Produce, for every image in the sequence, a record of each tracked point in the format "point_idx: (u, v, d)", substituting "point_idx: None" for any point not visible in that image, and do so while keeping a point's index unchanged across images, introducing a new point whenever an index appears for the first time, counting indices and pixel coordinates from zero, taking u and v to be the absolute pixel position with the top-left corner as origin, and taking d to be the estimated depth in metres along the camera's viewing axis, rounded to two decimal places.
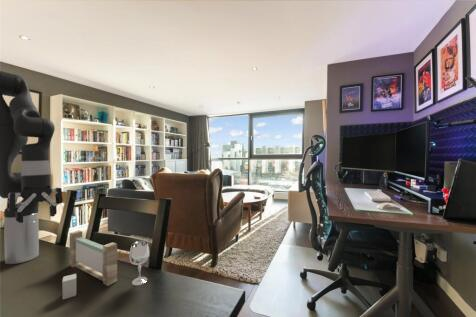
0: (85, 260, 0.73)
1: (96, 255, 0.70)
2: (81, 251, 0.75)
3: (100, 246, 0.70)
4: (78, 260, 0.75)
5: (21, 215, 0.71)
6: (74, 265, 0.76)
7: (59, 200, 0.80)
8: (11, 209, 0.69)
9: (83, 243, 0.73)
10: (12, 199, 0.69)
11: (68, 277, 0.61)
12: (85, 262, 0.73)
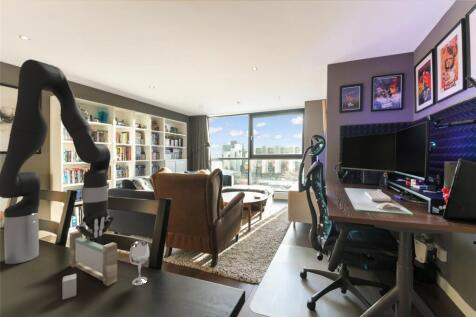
0: (85, 260, 0.73)
1: (96, 255, 0.70)
2: (81, 251, 0.74)
3: (100, 246, 0.70)
4: (78, 260, 0.75)
5: (97, 240, 0.76)
6: (74, 265, 0.76)
7: (104, 229, 0.79)
8: (90, 236, 0.74)
9: (83, 243, 0.73)
10: (84, 230, 0.72)
11: (68, 277, 0.61)
12: (85, 262, 0.73)
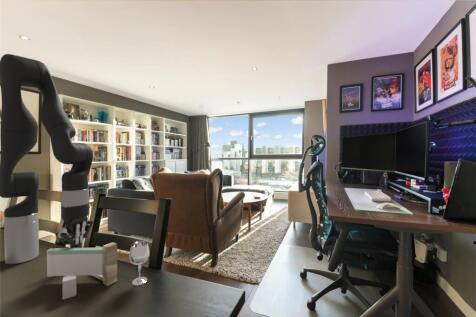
0: (68, 269, 0.67)
1: (91, 258, 0.67)
2: (59, 262, 0.67)
3: (95, 248, 0.68)
4: (52, 274, 0.67)
5: (78, 247, 0.70)
6: None
7: (84, 235, 0.73)
8: (72, 243, 0.68)
9: (65, 252, 0.67)
10: (67, 237, 0.66)
11: (68, 277, 0.61)
12: (68, 272, 0.67)
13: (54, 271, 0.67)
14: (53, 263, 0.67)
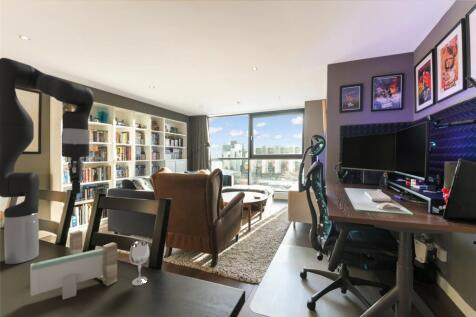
0: (60, 280, 0.61)
1: (90, 261, 0.65)
2: (47, 275, 0.60)
3: (93, 251, 0.66)
4: (38, 291, 0.58)
5: (79, 185, 0.73)
6: None
7: (80, 176, 0.75)
8: (79, 179, 0.71)
9: (57, 262, 0.61)
10: (79, 172, 0.70)
11: (68, 277, 0.61)
12: (60, 283, 0.61)
13: (40, 287, 0.59)
14: (39, 279, 0.59)
